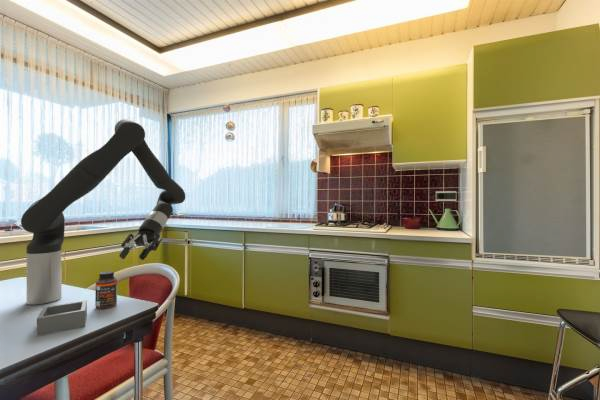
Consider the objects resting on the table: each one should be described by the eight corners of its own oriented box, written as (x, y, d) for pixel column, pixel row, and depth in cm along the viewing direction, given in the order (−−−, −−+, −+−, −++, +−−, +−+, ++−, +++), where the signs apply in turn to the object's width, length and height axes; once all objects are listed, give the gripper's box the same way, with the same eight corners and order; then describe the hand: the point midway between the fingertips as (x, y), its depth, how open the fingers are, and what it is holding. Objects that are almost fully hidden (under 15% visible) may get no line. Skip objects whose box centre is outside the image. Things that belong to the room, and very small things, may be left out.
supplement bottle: (97, 311, 90) (97, 275, 91) (93, 307, 95) (93, 272, 95) (119, 306, 95) (119, 272, 95) (114, 302, 99) (114, 269, 99)
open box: (43, 322, 82) (43, 307, 82) (86, 314, 88) (86, 300, 88) (36, 336, 74) (36, 318, 74) (85, 326, 80) (85, 310, 80)
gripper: (133, 218, 115) (108, 251, 104) (164, 218, 112) (141, 253, 100) (144, 230, 120) (121, 263, 109) (173, 230, 117) (153, 264, 106)
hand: (131, 258), depth 105 cm, fingers open, 8 cm apart
